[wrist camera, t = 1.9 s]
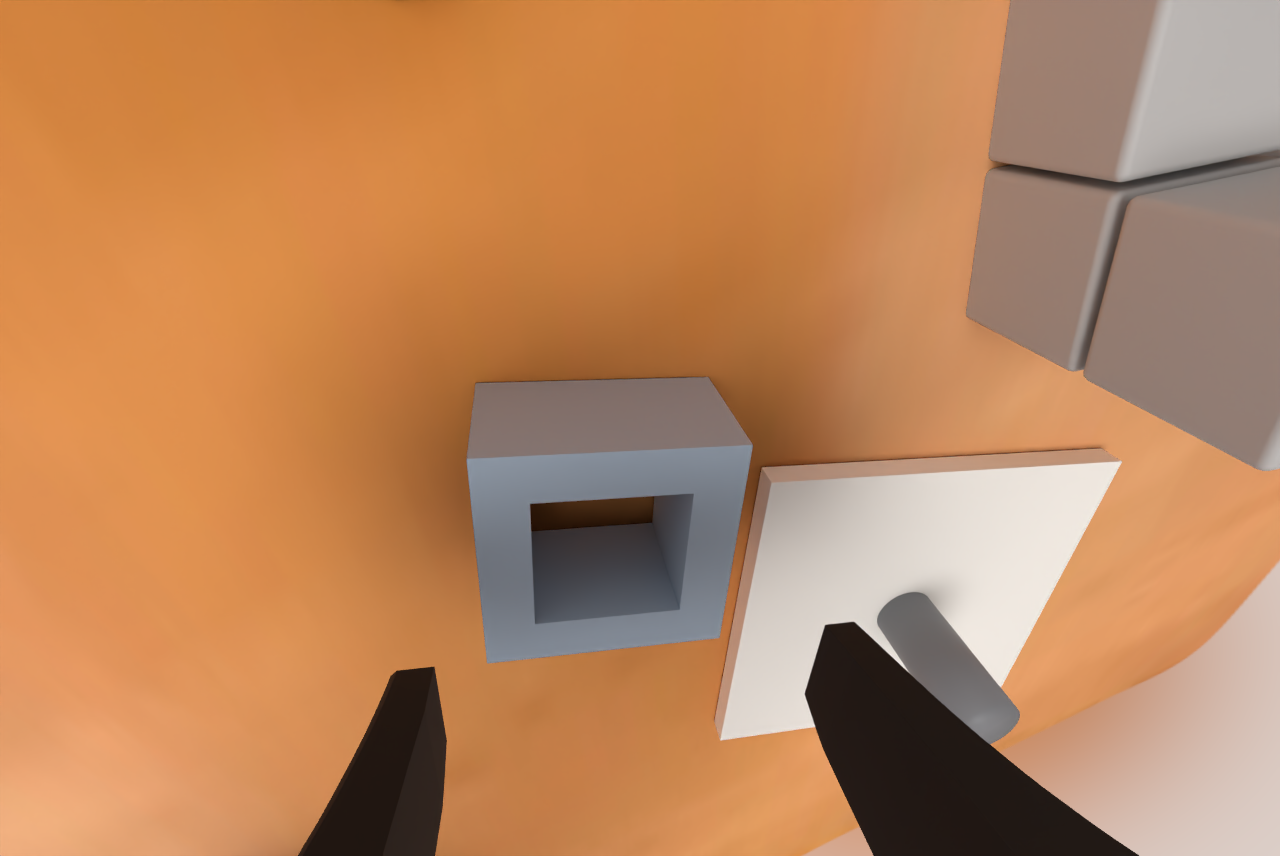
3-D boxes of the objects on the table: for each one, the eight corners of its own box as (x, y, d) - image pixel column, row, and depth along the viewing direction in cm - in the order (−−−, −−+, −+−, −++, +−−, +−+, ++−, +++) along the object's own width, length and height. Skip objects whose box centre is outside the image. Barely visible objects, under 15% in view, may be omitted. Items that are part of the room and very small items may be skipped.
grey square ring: (686, 550, 19) (719, 637, 16) (491, 566, 18) (487, 663, 15) (708, 376, 16) (753, 445, 13) (475, 382, 15) (466, 458, 12)
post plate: (980, 685, 26) (1077, 809, 22) (714, 721, 24) (760, 868, 19) (1101, 448, 20) (1267, 552, 16) (761, 467, 18) (844, 595, 13)
